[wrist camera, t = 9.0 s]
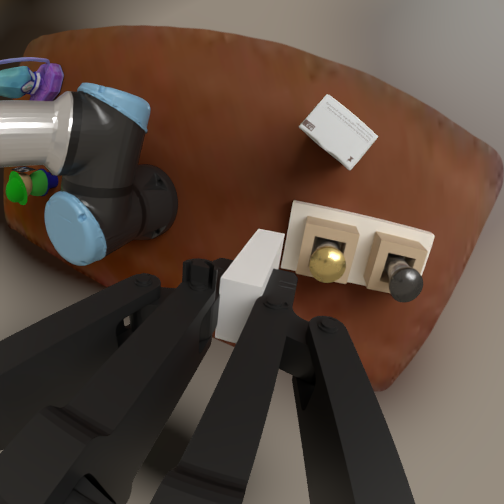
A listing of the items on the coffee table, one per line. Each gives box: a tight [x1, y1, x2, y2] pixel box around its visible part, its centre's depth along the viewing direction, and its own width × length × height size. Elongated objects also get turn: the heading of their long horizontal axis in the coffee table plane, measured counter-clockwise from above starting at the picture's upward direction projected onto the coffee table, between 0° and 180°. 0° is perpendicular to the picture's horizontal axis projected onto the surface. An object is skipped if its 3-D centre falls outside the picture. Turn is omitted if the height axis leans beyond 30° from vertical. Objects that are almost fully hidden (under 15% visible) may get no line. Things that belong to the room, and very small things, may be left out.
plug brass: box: [309, 237, 346, 283], centre depth 44 cm, size 5×5×9 cm
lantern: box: [0, 57, 64, 101], centre depth 37 cm, size 13×12×30 cm
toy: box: [6, 166, 58, 205], centre depth 53 cm, size 9×9×15 cm
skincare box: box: [299, 94, 378, 170], centre depth 37 cm, size 8×6×15 cm
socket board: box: [281, 200, 435, 293], centre depth 46 cm, size 26×12×7 cm, turn 82°
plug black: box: [384, 253, 423, 302], centre depth 41 cm, size 5×5×9 cm
